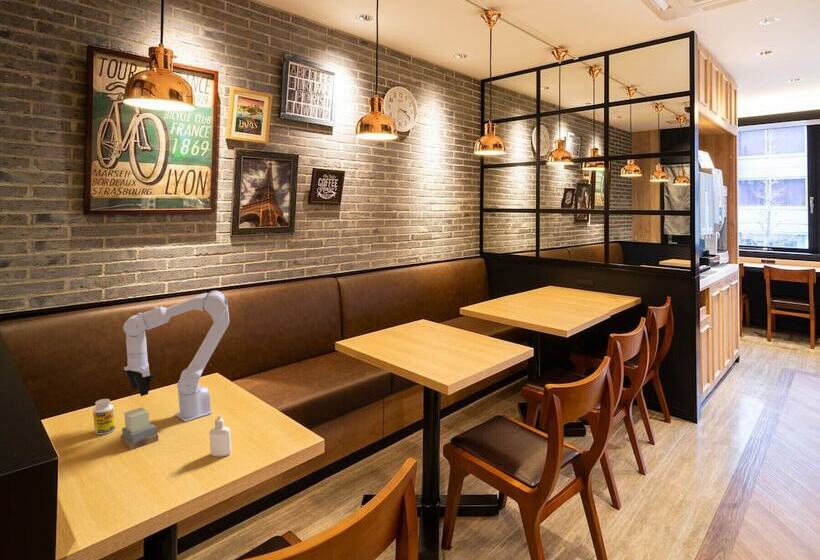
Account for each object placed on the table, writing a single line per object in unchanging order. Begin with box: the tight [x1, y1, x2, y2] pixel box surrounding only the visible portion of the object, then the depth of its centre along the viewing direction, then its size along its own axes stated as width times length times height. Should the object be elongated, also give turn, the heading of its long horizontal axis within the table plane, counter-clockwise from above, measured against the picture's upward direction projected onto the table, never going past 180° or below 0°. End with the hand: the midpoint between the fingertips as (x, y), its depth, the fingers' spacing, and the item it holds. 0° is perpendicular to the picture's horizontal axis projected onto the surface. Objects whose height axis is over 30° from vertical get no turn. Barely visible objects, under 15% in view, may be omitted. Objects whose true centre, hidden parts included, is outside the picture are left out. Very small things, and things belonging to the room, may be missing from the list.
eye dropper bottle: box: [209, 414, 233, 458], centre depth 142 cm, size 4×6×12 cm
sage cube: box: [124, 407, 150, 433], centre depth 149 cm, size 5×5×5 cm
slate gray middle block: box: [121, 421, 158, 443], centre depth 149 cm, size 7×7×2 cm
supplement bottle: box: [92, 398, 116, 436], centre depth 155 cm, size 6×6×10 cm
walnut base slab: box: [120, 433, 160, 451], centre depth 150 cm, size 8×8×2 cm
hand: (140, 391), depth 161 cm, fingers open, 7 cm apart
